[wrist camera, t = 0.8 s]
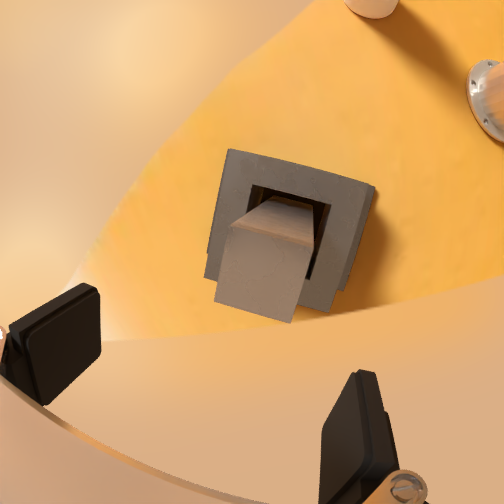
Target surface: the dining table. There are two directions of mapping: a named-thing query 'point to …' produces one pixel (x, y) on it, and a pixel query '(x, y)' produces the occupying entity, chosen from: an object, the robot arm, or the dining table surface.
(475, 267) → the dining table surface
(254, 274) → the column
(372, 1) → the milk bottle
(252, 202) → the housing
